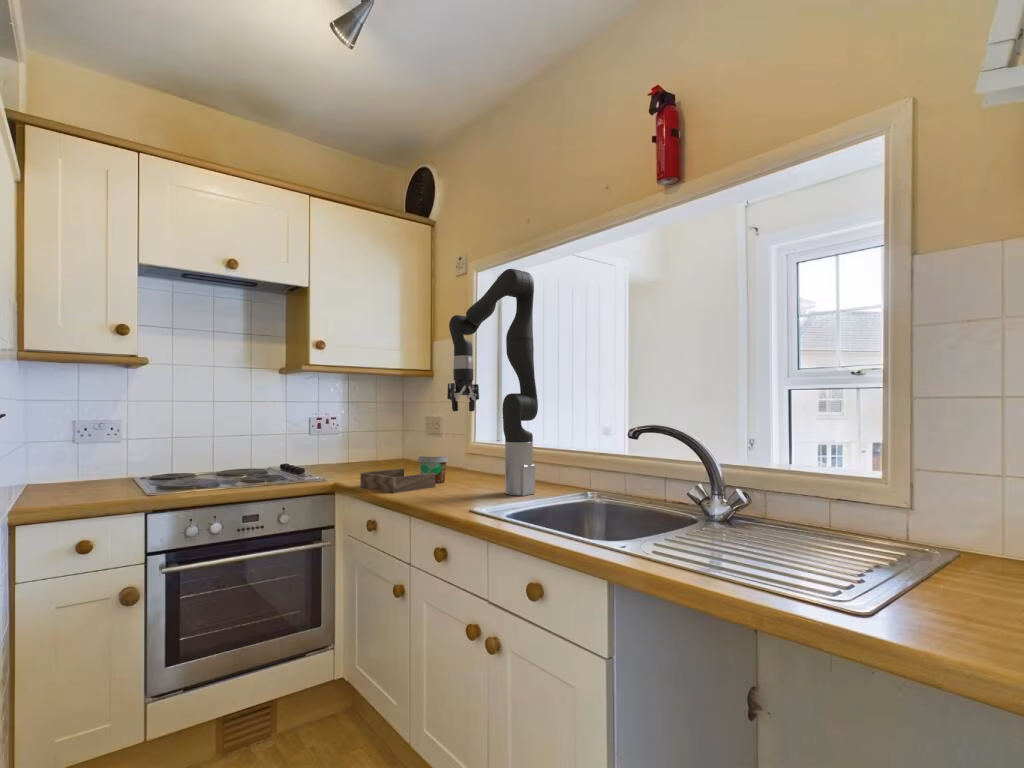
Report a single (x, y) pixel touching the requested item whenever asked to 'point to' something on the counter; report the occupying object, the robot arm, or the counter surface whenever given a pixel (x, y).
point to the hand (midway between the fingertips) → (463, 411)
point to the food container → (434, 467)
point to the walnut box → (396, 481)
